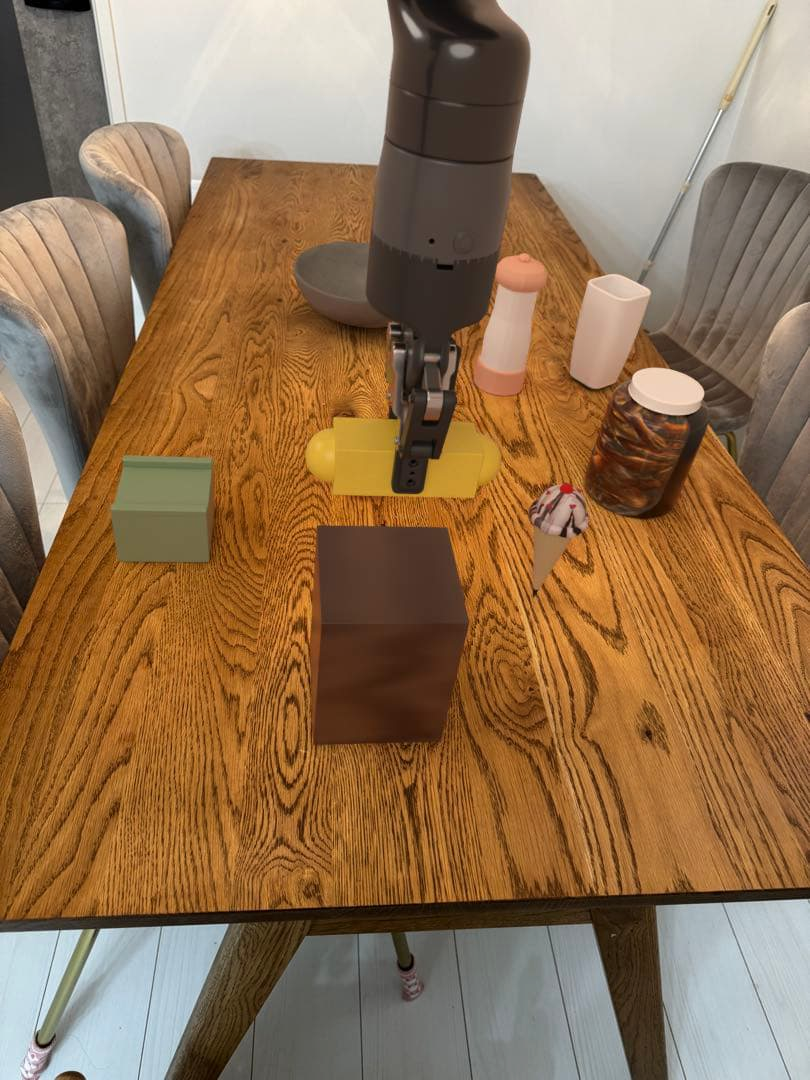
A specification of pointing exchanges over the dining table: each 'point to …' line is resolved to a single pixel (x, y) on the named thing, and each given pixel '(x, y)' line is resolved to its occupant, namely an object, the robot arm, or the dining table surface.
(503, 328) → the salt shaker
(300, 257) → the bowl
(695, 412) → the jar
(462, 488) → the yellow ball-topped peg
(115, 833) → the dining table surface
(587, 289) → the cup
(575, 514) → the ice cream cone
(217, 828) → the dining table surface
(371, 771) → the dining table surface
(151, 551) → the block
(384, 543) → the block
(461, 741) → the dining table surface
